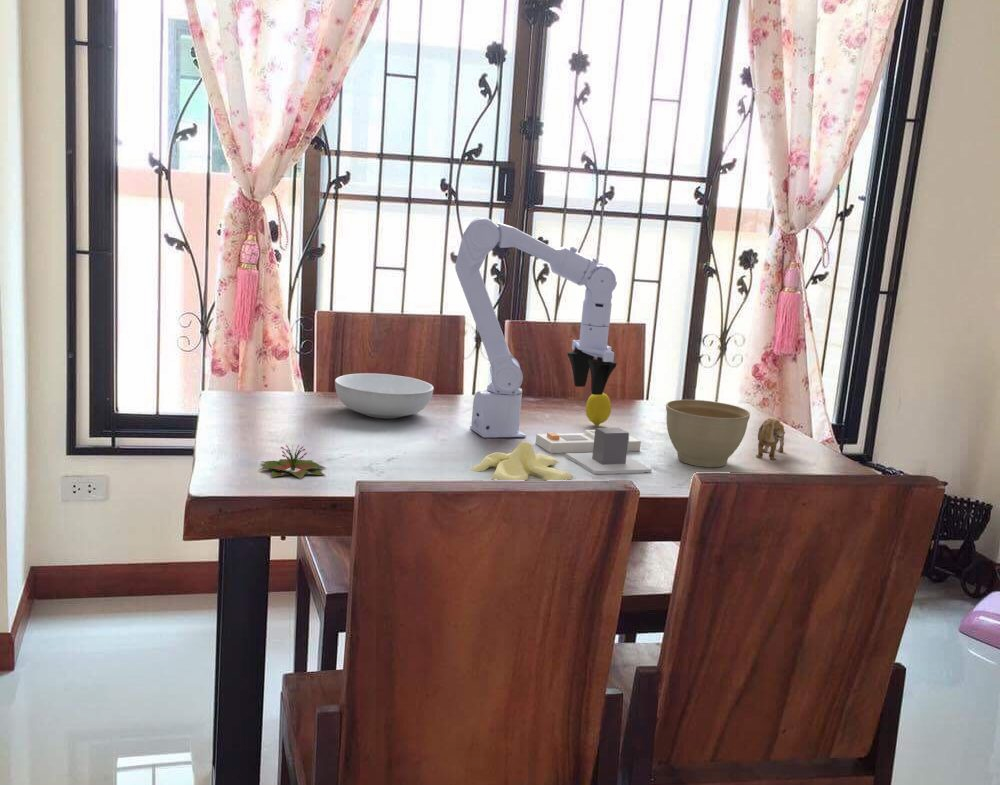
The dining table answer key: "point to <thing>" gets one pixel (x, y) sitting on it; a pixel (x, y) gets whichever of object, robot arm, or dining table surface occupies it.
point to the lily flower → (293, 465)
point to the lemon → (598, 408)
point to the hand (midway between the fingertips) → (588, 390)
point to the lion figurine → (770, 437)
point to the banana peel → (522, 465)
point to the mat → (607, 465)
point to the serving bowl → (383, 394)
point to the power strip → (575, 442)
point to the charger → (610, 446)
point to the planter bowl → (705, 430)
